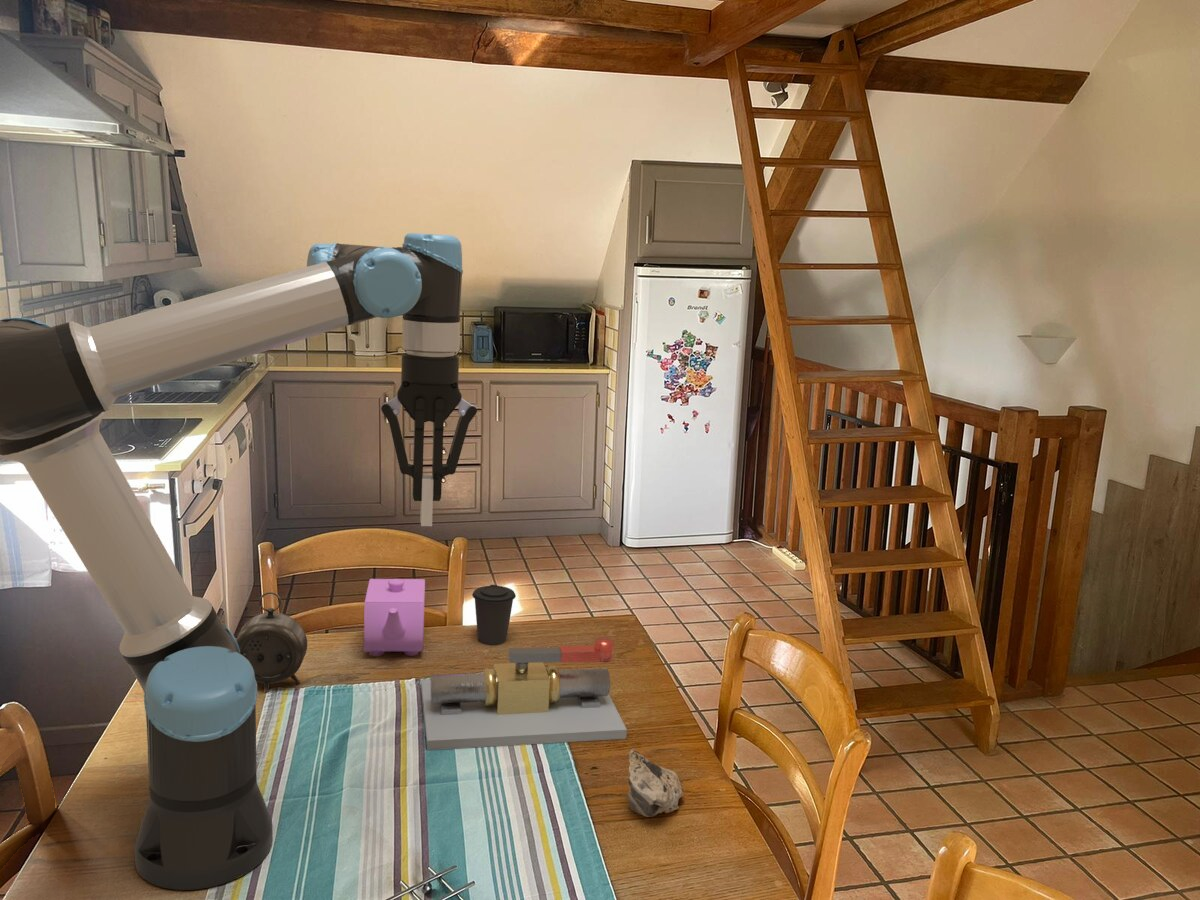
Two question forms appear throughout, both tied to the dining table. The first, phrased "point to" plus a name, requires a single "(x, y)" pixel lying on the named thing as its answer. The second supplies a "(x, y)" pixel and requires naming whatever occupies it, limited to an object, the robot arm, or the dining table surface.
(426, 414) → the robot arm
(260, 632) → the alarm clock
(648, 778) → the rock
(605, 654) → the lever
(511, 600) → the coffee cup
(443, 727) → the mount board
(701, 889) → the dining table surface
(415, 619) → the pink toy block
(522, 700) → the valve body
